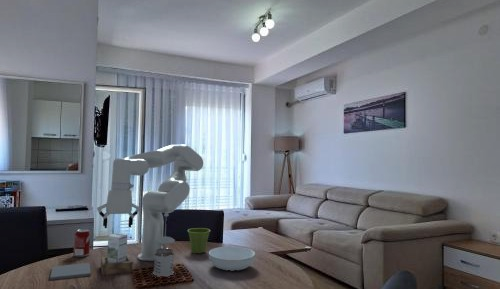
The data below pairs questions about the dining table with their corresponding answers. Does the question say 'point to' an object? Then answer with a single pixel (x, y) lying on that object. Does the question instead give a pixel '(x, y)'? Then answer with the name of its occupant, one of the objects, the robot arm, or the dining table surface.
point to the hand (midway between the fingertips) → (117, 227)
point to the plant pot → (198, 239)
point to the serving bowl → (231, 258)
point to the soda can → (82, 243)
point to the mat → (70, 271)
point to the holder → (116, 266)
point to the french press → (164, 256)
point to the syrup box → (117, 248)
